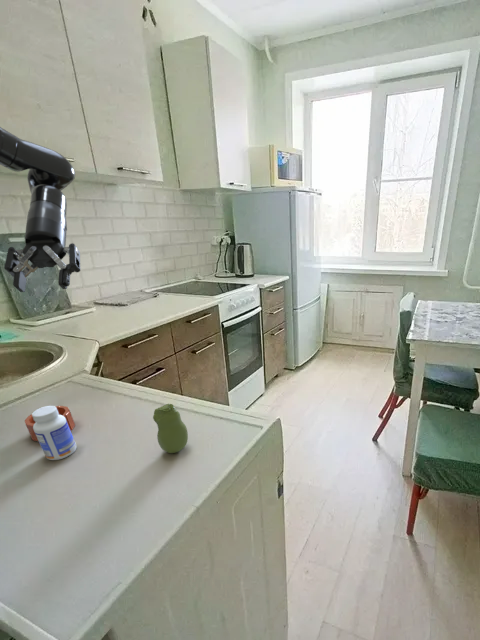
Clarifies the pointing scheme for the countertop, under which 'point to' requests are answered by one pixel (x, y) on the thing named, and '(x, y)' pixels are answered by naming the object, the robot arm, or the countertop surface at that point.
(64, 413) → the ring holder
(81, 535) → the countertop surface
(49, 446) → the pill bottle
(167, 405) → the pear
